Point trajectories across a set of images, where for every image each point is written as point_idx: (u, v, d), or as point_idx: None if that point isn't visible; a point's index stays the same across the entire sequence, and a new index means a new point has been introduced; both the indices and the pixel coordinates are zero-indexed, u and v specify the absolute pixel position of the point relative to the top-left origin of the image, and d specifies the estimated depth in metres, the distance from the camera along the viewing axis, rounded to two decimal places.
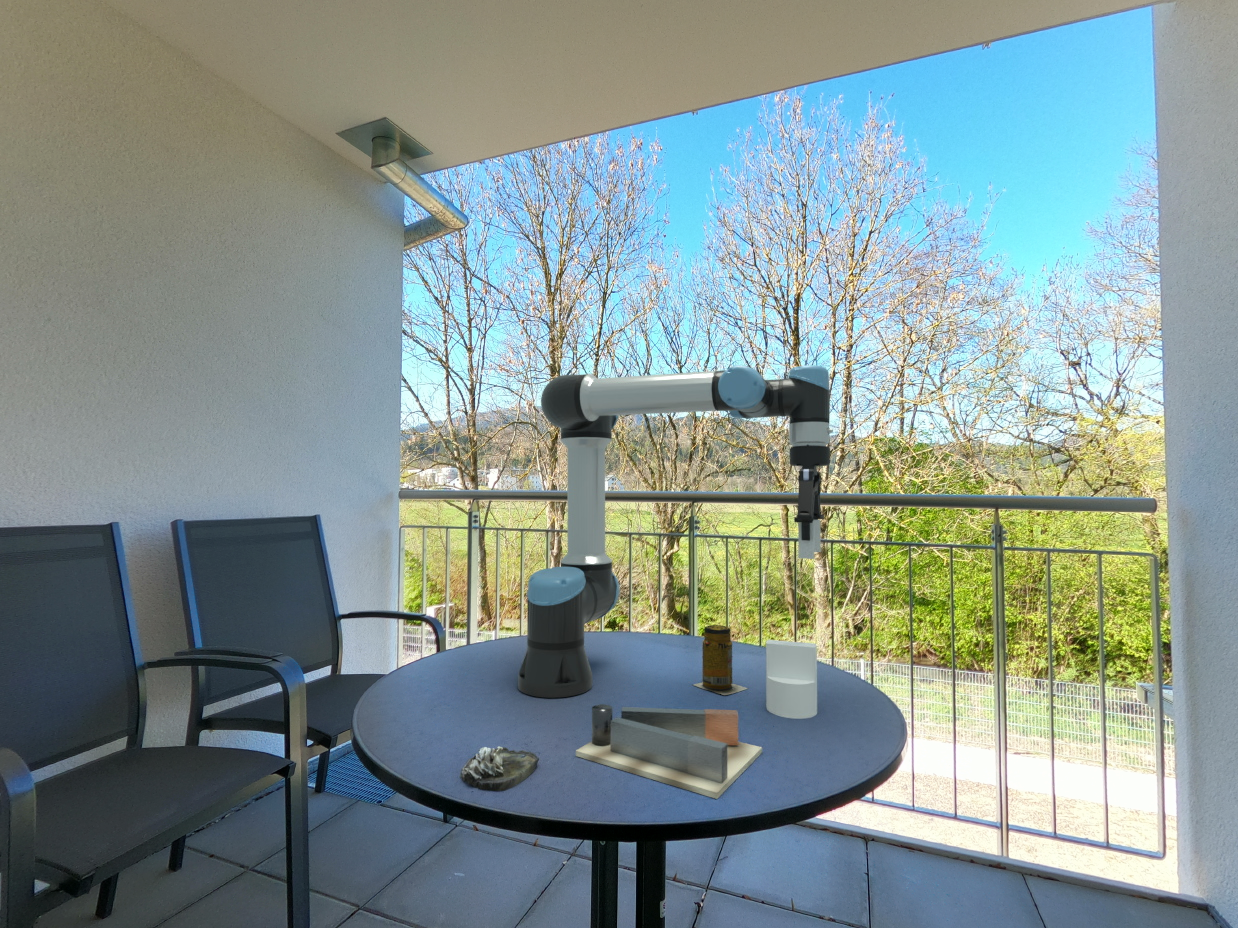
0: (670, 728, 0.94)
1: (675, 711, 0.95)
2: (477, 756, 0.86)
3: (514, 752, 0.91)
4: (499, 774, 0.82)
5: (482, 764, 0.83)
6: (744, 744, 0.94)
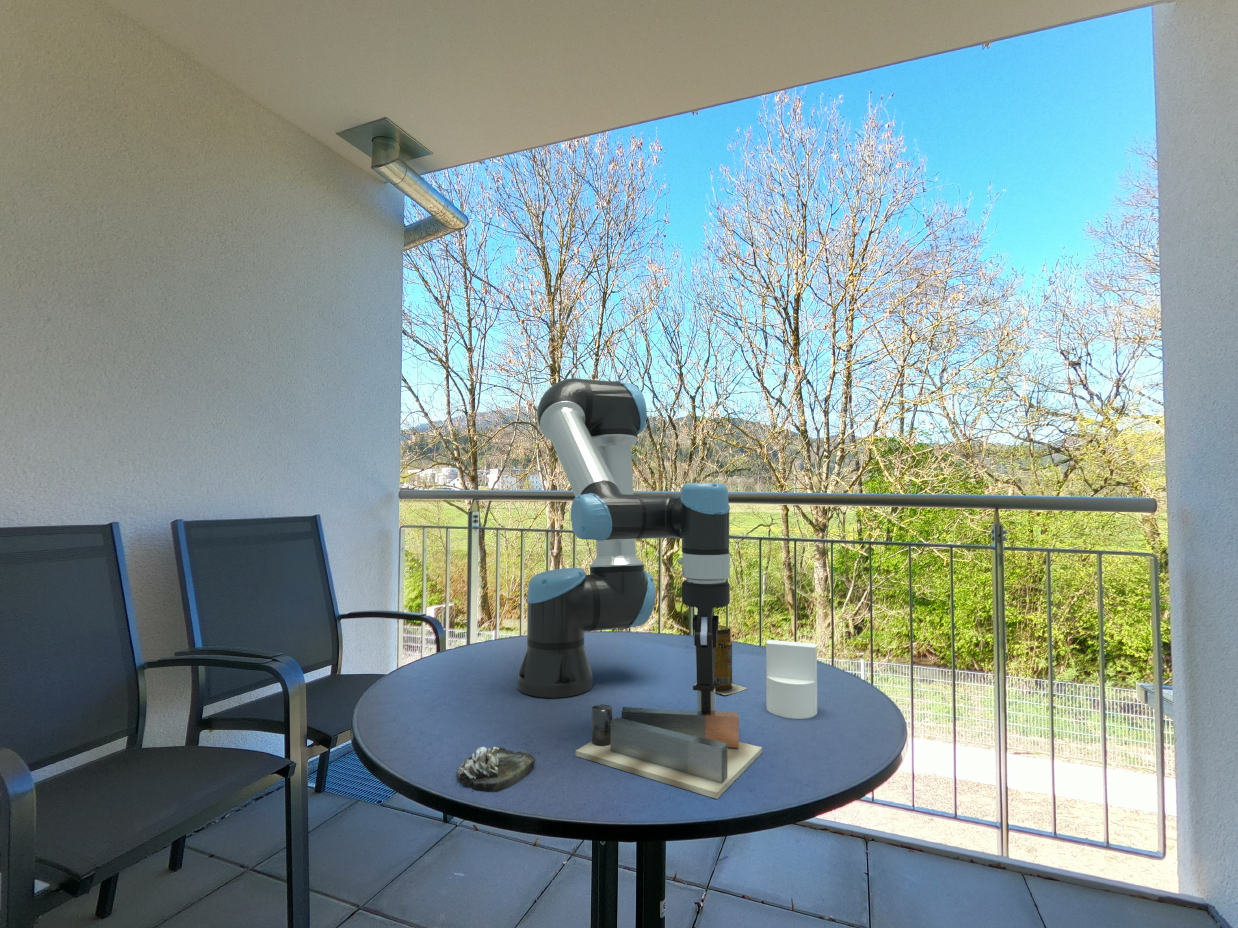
0: (670, 729, 0.94)
1: (675, 712, 0.94)
2: (473, 756, 0.86)
3: (512, 752, 0.91)
4: (493, 774, 0.82)
5: (477, 764, 0.83)
6: (744, 744, 0.94)
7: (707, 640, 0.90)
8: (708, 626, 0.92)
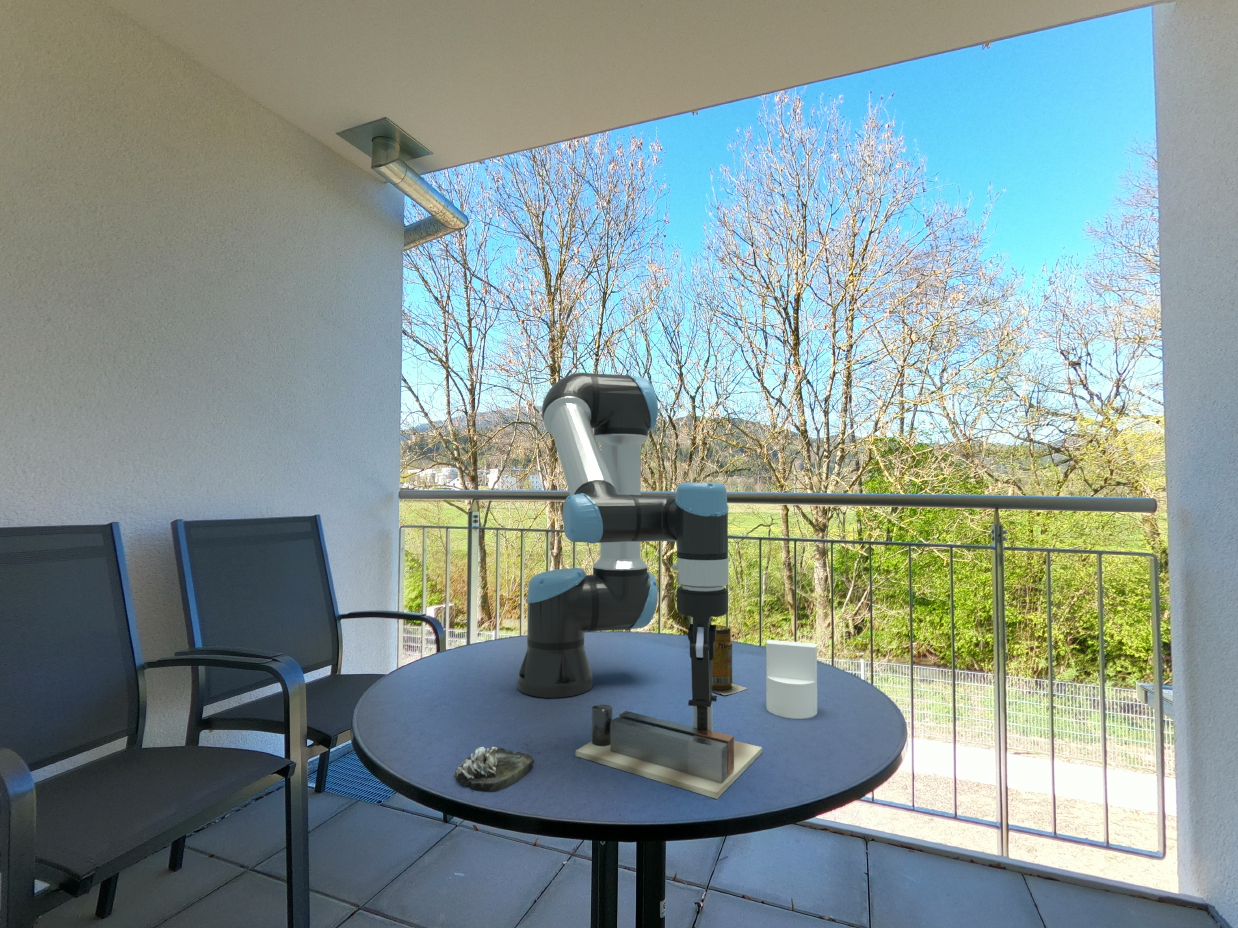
0: None
1: (669, 724, 0.89)
2: (472, 756, 0.87)
3: (511, 753, 0.91)
4: (491, 774, 0.82)
5: (475, 764, 0.83)
6: (744, 744, 0.94)
7: (703, 652, 0.83)
8: (704, 637, 0.86)
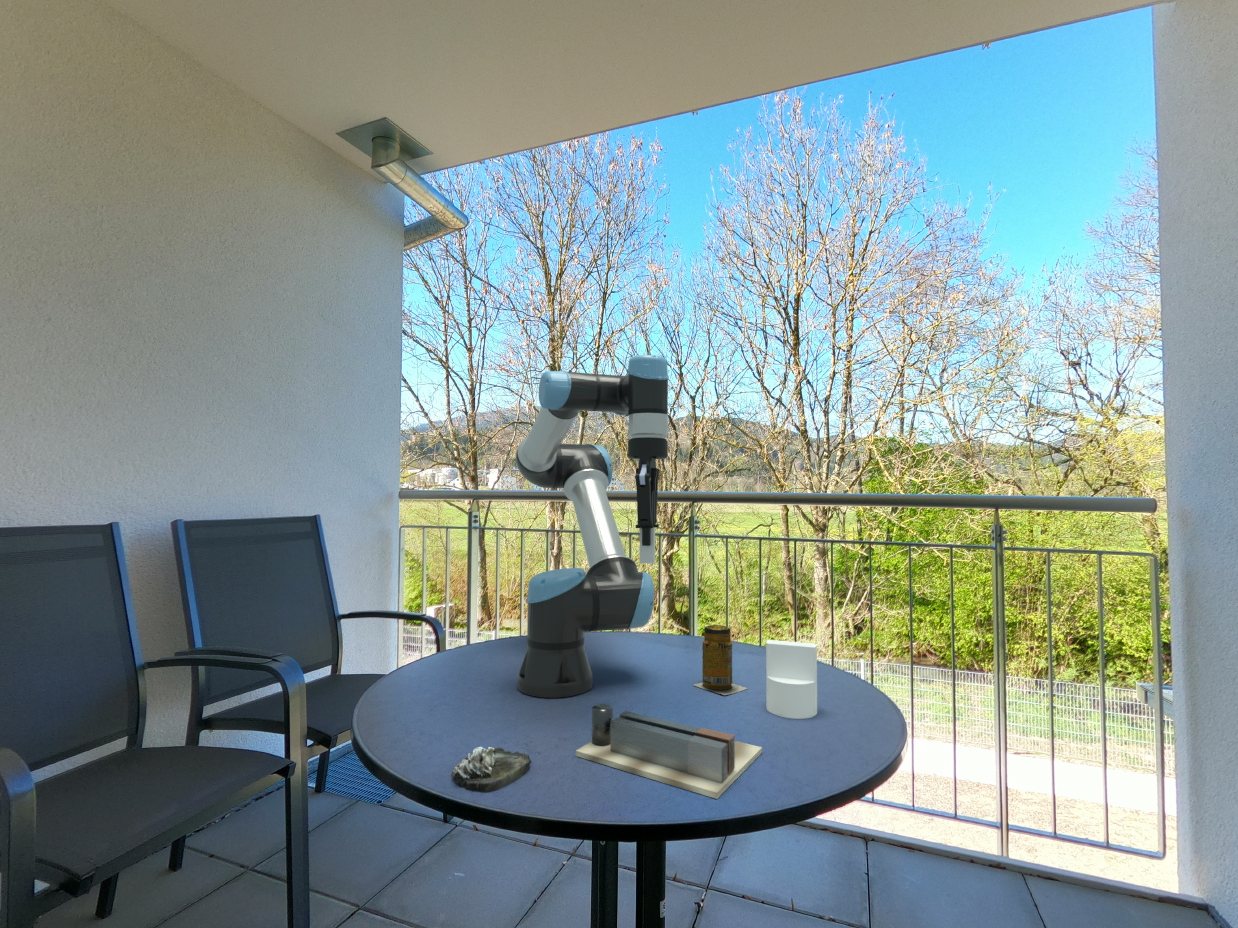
0: None
1: (670, 724, 0.90)
2: (469, 755, 0.87)
3: (509, 753, 0.91)
4: (487, 774, 0.82)
5: (471, 764, 0.83)
6: (744, 744, 0.94)
7: (645, 479, 1.09)
8: (647, 471, 1.11)
